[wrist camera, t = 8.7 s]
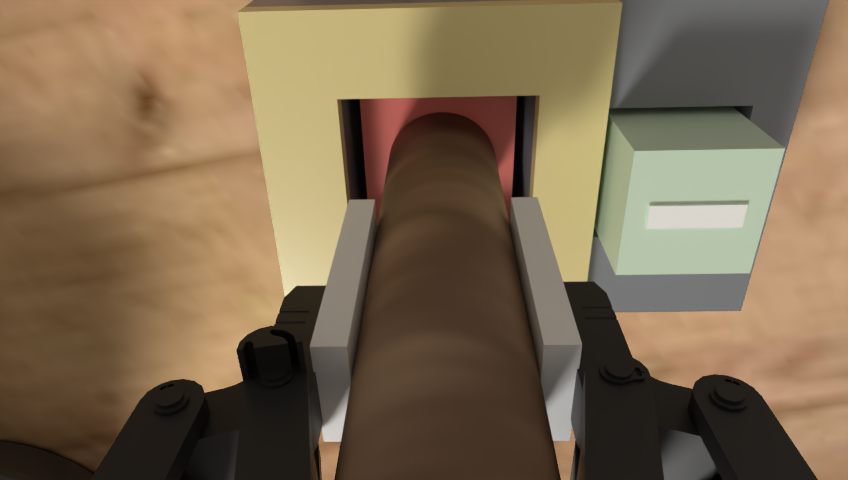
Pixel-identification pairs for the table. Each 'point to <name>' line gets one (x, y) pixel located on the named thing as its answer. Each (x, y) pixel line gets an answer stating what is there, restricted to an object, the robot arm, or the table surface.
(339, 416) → the robot arm
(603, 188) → the on button
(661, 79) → the breaker box
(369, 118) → the plunger
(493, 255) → the rounded rod
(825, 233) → the table surface
